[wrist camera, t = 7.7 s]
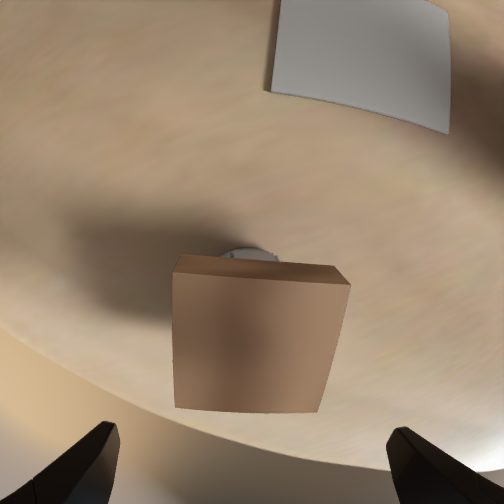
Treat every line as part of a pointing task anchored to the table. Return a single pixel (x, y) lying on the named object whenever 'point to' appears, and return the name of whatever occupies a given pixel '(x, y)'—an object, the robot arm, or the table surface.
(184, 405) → the block
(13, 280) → the table surface
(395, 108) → the mat
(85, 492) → the robot arm
